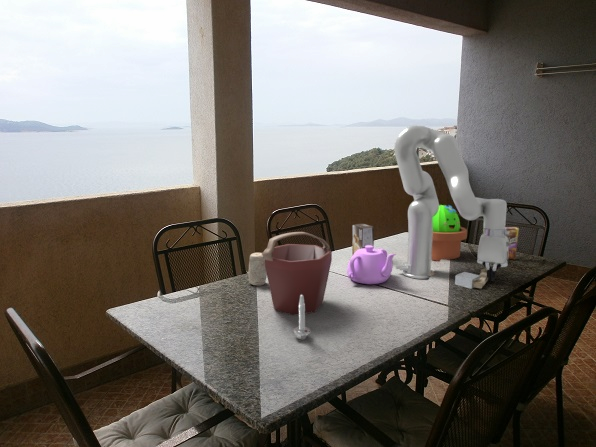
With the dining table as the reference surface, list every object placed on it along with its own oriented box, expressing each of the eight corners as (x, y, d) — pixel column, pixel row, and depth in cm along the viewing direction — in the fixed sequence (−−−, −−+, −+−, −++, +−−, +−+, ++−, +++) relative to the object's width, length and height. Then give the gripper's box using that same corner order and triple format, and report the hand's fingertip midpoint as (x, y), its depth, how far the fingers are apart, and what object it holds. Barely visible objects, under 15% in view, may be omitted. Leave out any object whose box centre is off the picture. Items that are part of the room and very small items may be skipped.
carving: (263, 287, 167) (263, 257, 164) (245, 285, 169) (244, 255, 167) (270, 282, 173) (269, 252, 170) (252, 280, 175) (251, 251, 173)
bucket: (267, 321, 137) (265, 243, 132) (254, 296, 157) (253, 228, 152) (341, 312, 143) (342, 237, 138) (320, 290, 164) (320, 224, 159)
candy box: (497, 262, 198) (500, 228, 194) (492, 259, 202) (494, 226, 199) (515, 261, 199) (519, 228, 196) (510, 258, 203) (513, 226, 200)
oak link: (481, 273, 178) (482, 265, 177) (493, 275, 175) (494, 267, 174) (470, 286, 163) (471, 277, 162) (483, 288, 160) (483, 279, 160)
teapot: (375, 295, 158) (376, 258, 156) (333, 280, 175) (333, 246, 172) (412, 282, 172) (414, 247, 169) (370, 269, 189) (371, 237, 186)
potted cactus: (406, 252, 214) (409, 201, 209) (445, 248, 221) (448, 199, 216) (433, 265, 194) (436, 209, 189) (474, 260, 200) (479, 206, 195)
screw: (301, 332, 129) (313, 337, 126) (289, 337, 125) (302, 343, 122) (300, 290, 126) (313, 294, 123) (289, 294, 123) (302, 298, 120)
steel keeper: (471, 289, 161) (472, 279, 160) (454, 284, 165) (455, 275, 165) (479, 285, 165) (480, 275, 164) (463, 280, 170) (464, 271, 169)
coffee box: (374, 261, 200) (375, 226, 197) (362, 263, 197) (363, 228, 194) (362, 256, 208) (363, 223, 205) (351, 258, 206) (352, 224, 202)
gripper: (518, 232, 162) (514, 280, 165) (476, 228, 171) (473, 274, 174) (513, 236, 156) (510, 286, 160) (470, 232, 165) (467, 279, 169)
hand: (491, 279), depth 167 cm, fingers closed
